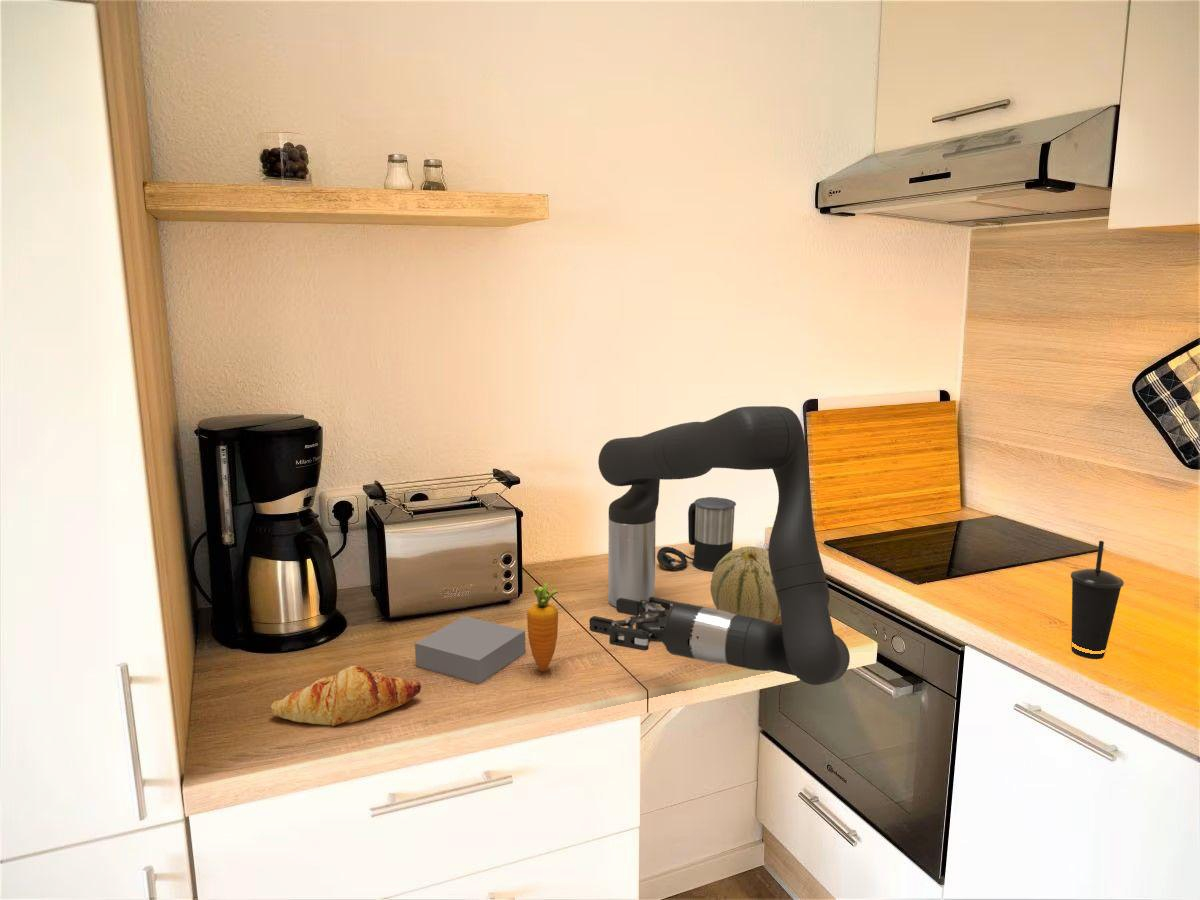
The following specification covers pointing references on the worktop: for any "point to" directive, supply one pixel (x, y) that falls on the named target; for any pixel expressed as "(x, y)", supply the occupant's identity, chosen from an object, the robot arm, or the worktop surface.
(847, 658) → the robot arm
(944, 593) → the worktop surface
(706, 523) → the milk frother
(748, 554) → the cantaloupe
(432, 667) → the base block
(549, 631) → the carrot
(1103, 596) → the drinking cup
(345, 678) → the croissant
